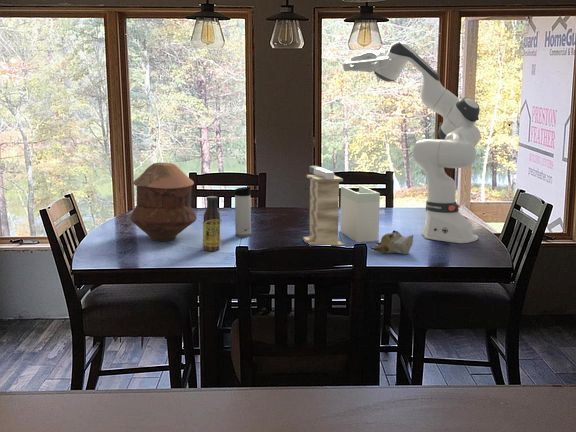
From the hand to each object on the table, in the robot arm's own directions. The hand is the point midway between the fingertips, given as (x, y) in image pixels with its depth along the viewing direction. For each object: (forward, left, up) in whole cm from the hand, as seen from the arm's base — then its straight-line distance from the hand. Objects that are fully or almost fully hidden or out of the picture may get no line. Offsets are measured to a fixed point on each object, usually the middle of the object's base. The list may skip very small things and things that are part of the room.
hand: (362, 67), depth 277 cm
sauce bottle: (+6, +78, -68) cm, 104 cm away
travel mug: (+16, +54, -68) cm, 88 cm away
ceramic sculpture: (-43, +33, -68) cm, 87 cm away
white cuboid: (-17, +21, -68) cm, 73 cm away
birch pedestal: (-16, +41, -68) cm, 81 cm away
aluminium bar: (-13, +39, -42) cm, 59 cm away
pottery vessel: (+34, +80, -68) cm, 110 cm away
